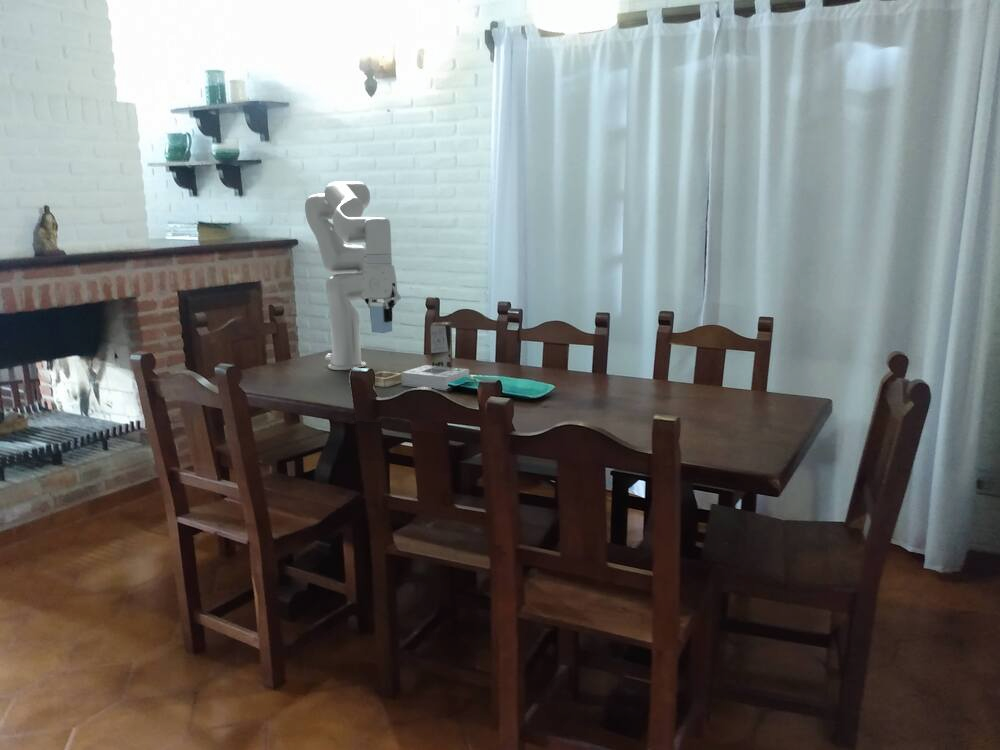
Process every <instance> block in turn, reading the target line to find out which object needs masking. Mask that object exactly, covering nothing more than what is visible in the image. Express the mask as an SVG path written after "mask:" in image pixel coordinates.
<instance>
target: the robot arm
mask: <svg viewBox="0 0 1000 750" xmlns="http://www.w3.org/2000/svg"><path fill="white" fill-rule="evenodd" d="M370 200H371V194H370V190H369V187H368V186H367V185H366V184H365V183H363V182H362V181H345V180H344V181H332V182H330V183H328V185H326V186H325V189H324V193H317V194H316V193H315V194H312V195H310V196H309V197H307V199H306V200H305V203H304V210H305V211H304V212H305V218H306V220H307V223H308V226H309V227H310V230H311V232H312V233H313V234H314V237H315V240H316V241H317V242H316V243H317V245H318V250H319V252H320V257H321V260H322V264H323V267H324V269H325V271H326V272H327V273H330V274H333V275H330V276H329V277H328V278H327V279H326V280H325V281H326V282H325V284H324V285H325V293H326V296H327V300H328V301H327V302H328V308H329V309H328V310H329V318H330V320H329V321H330V332H331V333H330V335H331V352H332V353H327V354H326V355H325V357H324V360H326V361H327V360H328V361H330V363H329V364H328V365H327V366H328V369H330V370H335V371H351V370H350V369H351V368H353V367H364V366H365V367H367V363H366V362H365V361H362V348H361V345H362V344H361V329H360V325H361V324H360V316H359V313H358V311H357V310H356V308H355V307H354V305H352V303H356V302H365V303H366V304H367V307H368V308H369V309H370V310H369V312H370V317H371V305H370V302H376V301H379V300H383V301H384V304H385V308H386V309H384V321H385V322H391V321H392V322H393V309H394V308H395V306H396V304H397V303H398V302H399V301H400V300H401V299H402V296H401V295H400V293H399V292H398V284H397V276H396V271H395V267H394V264H393V258H392V255H393V254H392V235H391V234H392V233H391V232H392V230H391V221H390V219H388V218H386V217H377V216H375V217H374V216H371V217H370V216H362V215H363V213H364V210H365V209H366V208H367V207H368V205H369V204H370ZM330 220H332V222H330ZM346 243H348V244H346ZM351 243H353V244H351ZM355 243H365V245H364V246H363V245H361V244H355ZM388 301H389V302H388ZM359 365H361V366H359ZM365 367H364V368H365Z"/></svg>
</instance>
